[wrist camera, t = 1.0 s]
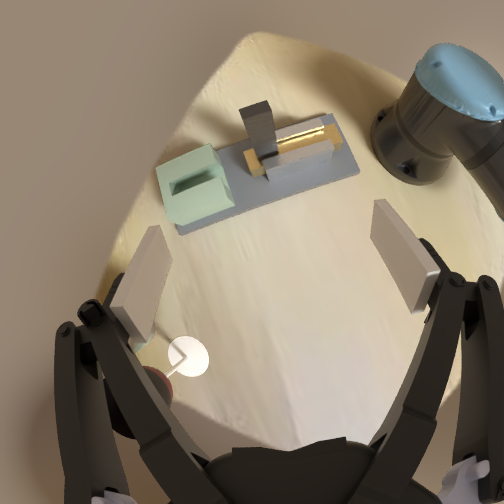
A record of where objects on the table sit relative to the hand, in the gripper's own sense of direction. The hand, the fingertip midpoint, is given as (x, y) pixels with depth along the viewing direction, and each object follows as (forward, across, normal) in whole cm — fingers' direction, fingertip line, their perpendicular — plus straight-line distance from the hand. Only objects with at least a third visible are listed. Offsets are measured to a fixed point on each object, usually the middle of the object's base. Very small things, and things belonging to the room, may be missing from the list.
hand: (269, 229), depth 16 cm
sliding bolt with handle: (+26, +5, -4) cm, 27 cm away
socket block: (+26, -10, -7) cm, 28 cm away
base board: (+28, 0, -6) cm, 28 cm away
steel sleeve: (+27, +5, -4) cm, 28 cm away
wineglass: (+10, -16, -29) cm, 35 cm away
